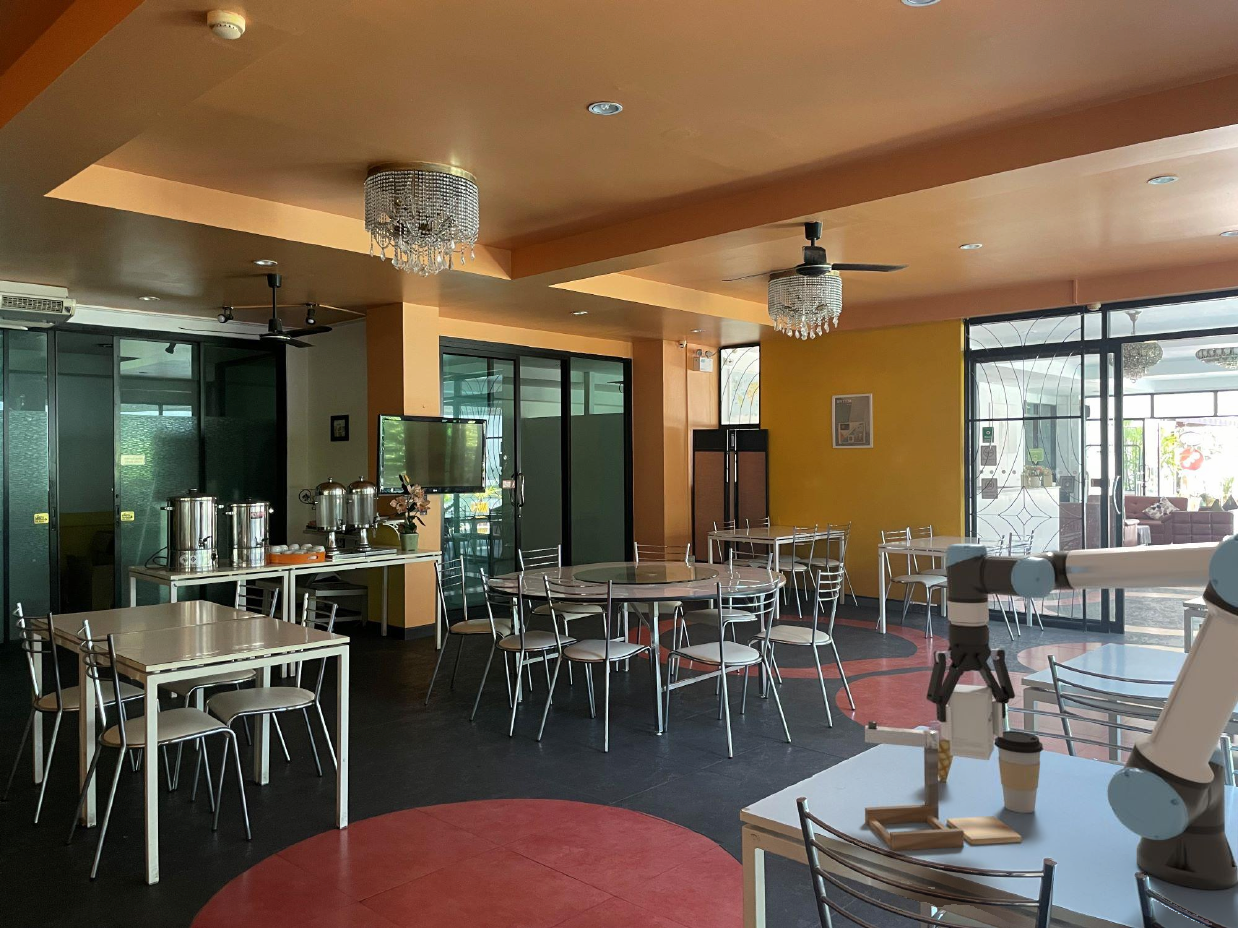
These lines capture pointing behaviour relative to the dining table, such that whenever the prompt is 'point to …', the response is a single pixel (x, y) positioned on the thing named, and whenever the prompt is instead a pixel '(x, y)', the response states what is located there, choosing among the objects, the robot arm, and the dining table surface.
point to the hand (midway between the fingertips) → (972, 736)
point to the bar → (901, 736)
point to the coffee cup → (1019, 769)
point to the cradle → (917, 817)
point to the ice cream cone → (942, 752)
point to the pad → (984, 830)
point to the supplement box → (972, 722)
